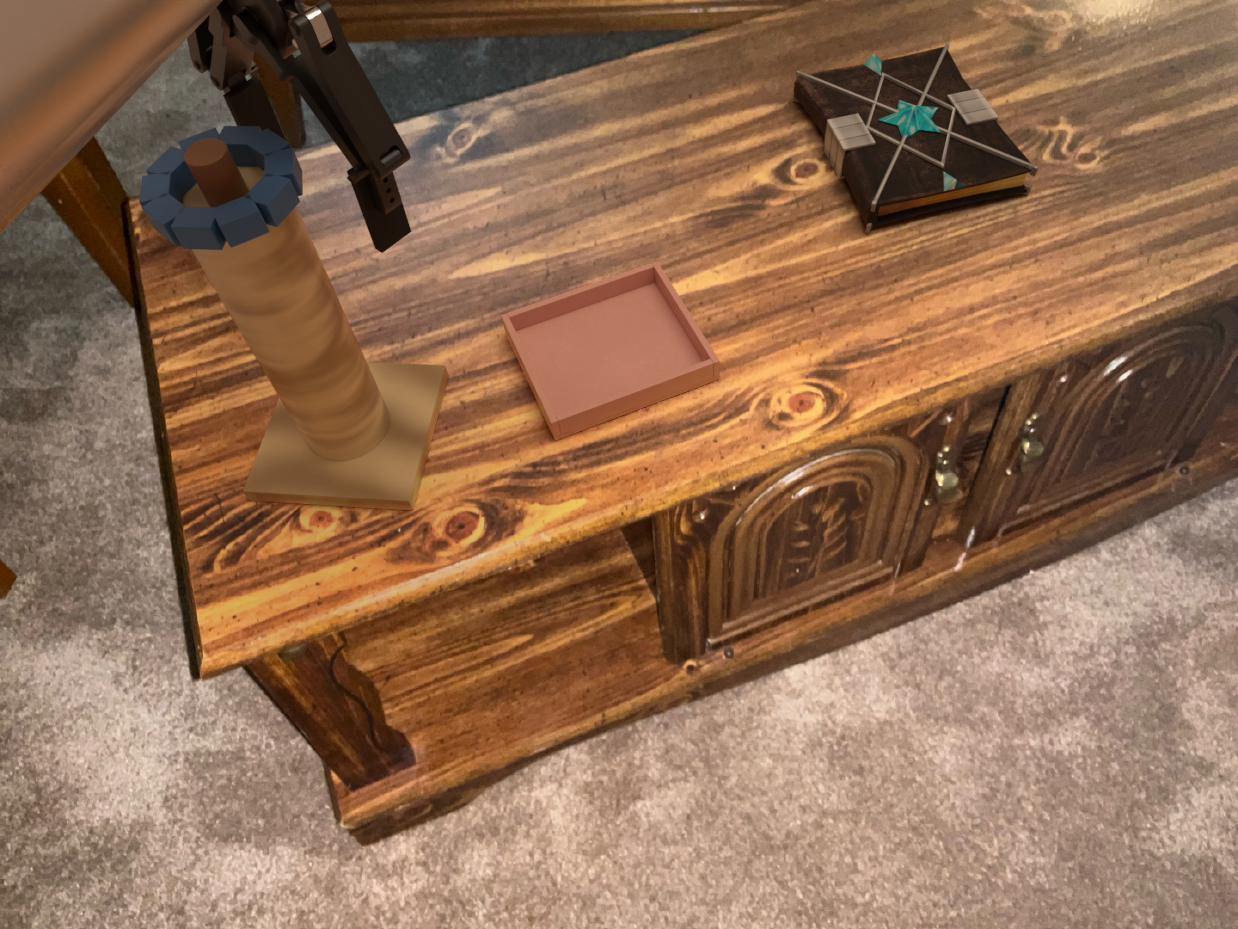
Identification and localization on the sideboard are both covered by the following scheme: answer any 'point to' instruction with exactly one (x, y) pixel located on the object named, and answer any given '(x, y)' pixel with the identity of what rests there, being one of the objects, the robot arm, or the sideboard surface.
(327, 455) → the tan post with base
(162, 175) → the ring
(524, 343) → the tray
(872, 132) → the book
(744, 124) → the sideboard surface
